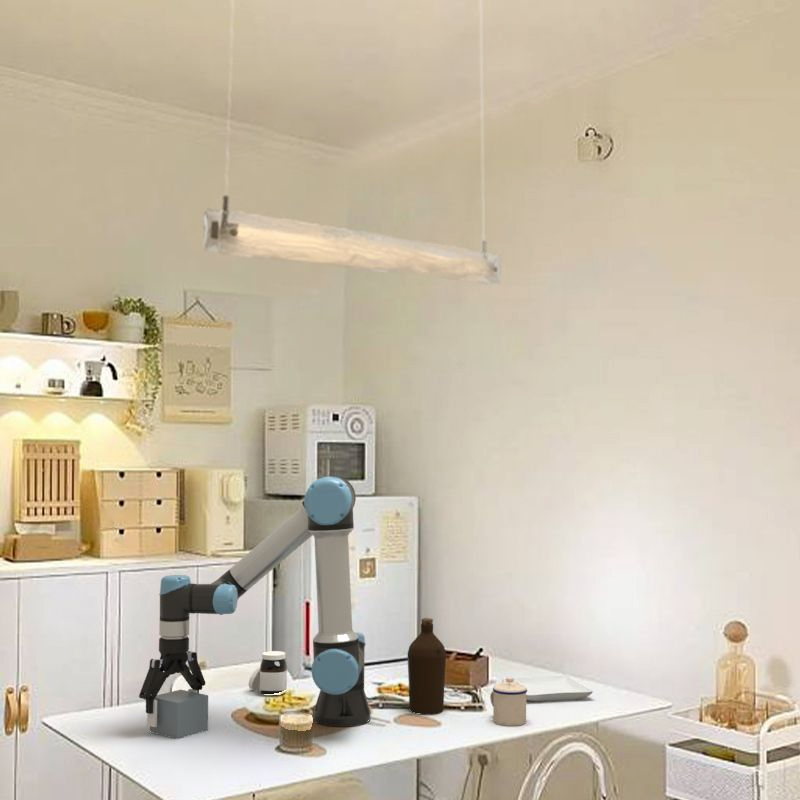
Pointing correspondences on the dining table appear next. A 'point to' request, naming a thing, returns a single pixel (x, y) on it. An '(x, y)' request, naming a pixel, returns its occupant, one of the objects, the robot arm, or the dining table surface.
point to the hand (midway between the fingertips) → (172, 720)
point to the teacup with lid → (509, 703)
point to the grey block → (181, 713)
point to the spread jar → (270, 673)
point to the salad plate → (553, 688)
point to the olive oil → (426, 671)
